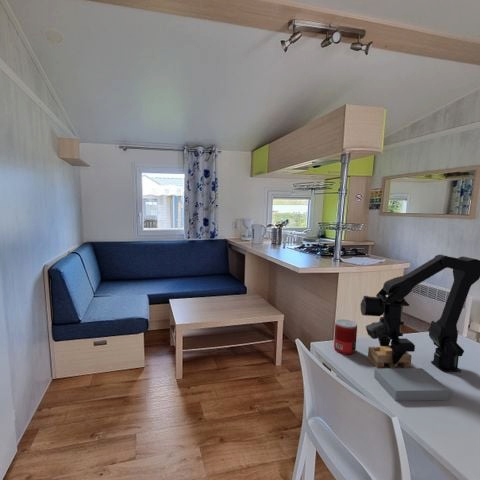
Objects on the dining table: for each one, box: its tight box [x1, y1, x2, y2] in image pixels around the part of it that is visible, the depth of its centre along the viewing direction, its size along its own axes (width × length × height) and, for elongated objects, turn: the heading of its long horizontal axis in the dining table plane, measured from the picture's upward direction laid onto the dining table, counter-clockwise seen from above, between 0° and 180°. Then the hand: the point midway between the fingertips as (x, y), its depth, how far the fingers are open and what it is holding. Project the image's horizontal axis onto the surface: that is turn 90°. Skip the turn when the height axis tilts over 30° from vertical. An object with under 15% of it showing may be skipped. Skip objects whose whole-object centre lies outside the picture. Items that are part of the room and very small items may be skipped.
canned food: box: [333, 318, 358, 355], centre depth 116 cm, size 8×8×11 cm
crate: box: [379, 345, 392, 355], centre depth 107 cm, size 5×4×2 cm
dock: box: [373, 367, 451, 402], centre depth 92 cm, size 16×12×3 cm
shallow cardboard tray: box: [367, 346, 413, 369], centre depth 107 cm, size 12×7×4 cm, turn 93°
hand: (388, 359), depth 107 cm, fingers closed on shallow cardboard tray, 7 cm apart
